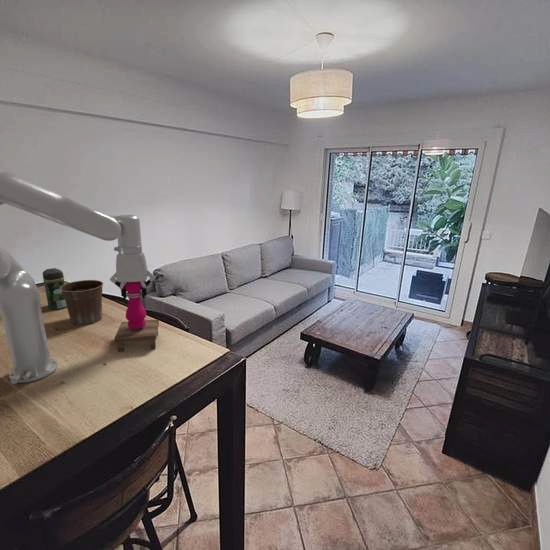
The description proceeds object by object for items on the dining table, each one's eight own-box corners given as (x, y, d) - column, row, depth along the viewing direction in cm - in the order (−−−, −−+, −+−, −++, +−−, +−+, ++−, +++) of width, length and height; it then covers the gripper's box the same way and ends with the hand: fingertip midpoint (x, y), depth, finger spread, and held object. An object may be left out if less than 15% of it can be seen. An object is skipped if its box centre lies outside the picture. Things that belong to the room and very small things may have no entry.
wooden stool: (156, 349, 120) (155, 335, 118) (115, 353, 116) (114, 338, 115) (159, 332, 133) (158, 319, 131) (123, 335, 129) (121, 322, 128)
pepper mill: (150, 322, 126) (146, 273, 120) (141, 330, 119) (137, 279, 113) (132, 320, 126) (128, 272, 121) (122, 328, 119) (117, 277, 114)
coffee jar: (46, 305, 155) (40, 268, 150) (65, 301, 160) (60, 266, 155) (50, 311, 149) (43, 273, 143) (70, 307, 154) (64, 270, 148)
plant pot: (69, 314, 147) (64, 280, 142) (109, 310, 152) (105, 278, 148) (61, 329, 132) (55, 293, 128) (105, 325, 138) (100, 289, 133)
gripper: (101, 252, 108) (106, 302, 113) (155, 252, 113) (158, 300, 118) (106, 248, 115) (111, 295, 120) (156, 247, 120) (159, 293, 125)
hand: (134, 297), depth 119 cm, fingers closed on pepper mill, 5 cm apart
